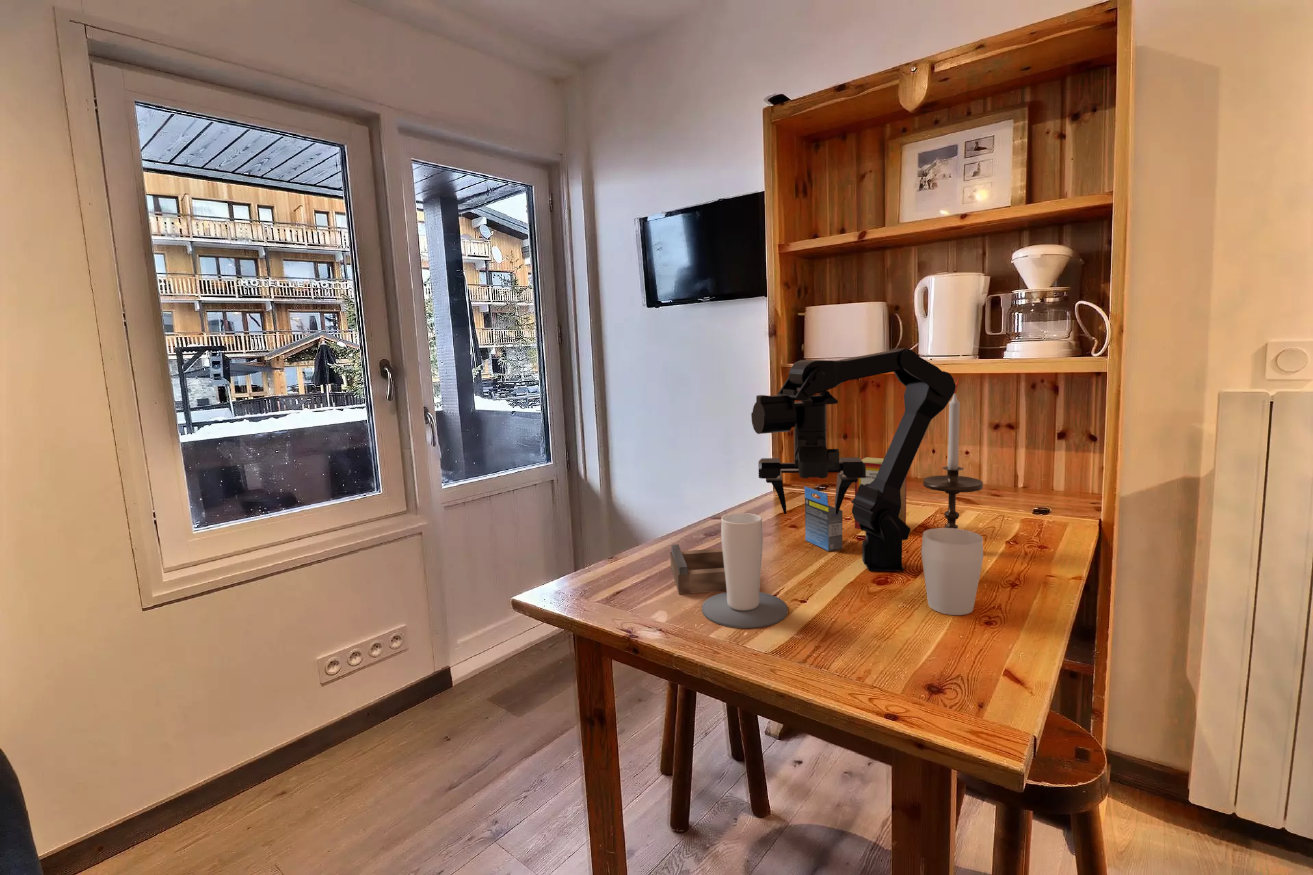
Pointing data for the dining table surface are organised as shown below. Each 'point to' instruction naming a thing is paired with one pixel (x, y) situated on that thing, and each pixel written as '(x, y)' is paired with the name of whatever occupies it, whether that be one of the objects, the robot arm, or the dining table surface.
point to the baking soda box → (871, 473)
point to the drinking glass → (742, 559)
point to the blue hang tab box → (822, 521)
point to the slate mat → (745, 612)
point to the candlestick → (953, 468)
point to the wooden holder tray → (698, 570)
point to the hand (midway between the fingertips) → (810, 513)
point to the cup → (951, 569)
